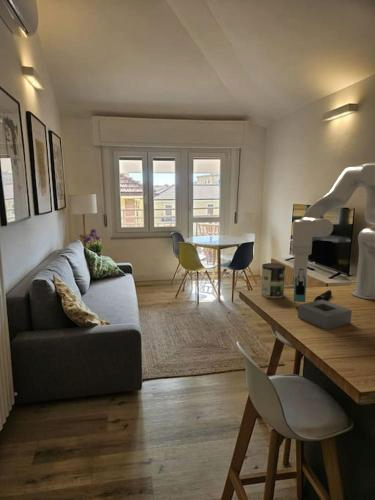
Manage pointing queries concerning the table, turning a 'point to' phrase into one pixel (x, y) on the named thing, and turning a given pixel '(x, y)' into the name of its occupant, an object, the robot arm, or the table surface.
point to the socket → (324, 314)
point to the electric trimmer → (324, 296)
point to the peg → (299, 297)
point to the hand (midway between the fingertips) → (299, 292)
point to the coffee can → (273, 280)
